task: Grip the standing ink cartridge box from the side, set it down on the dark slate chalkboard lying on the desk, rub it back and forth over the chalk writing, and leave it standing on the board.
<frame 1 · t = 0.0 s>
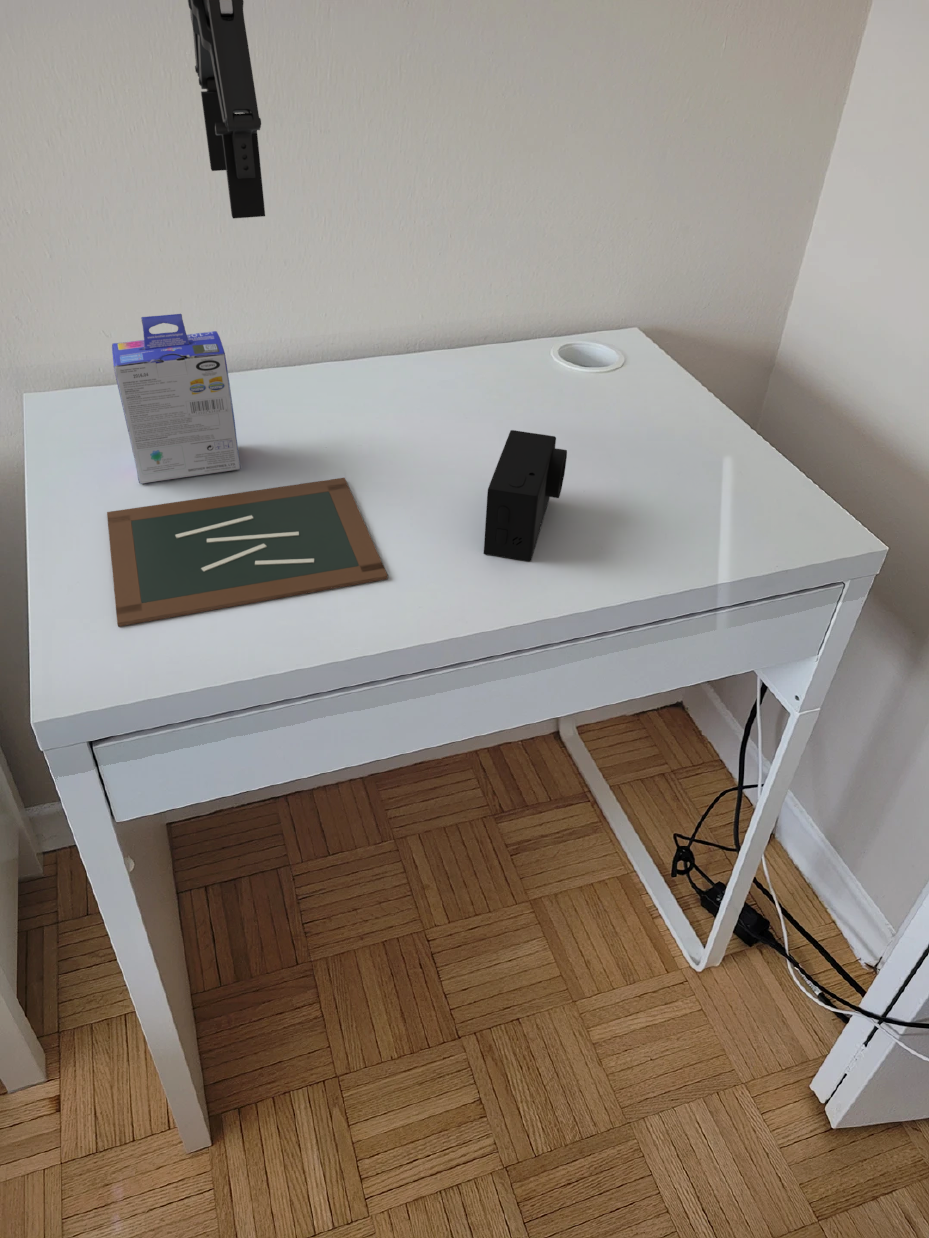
hand: (236, 191, 85), 23 cm above the table, tool pointing down, fingers open, 13 cm apart
digital camera: (523, 529, 87), on the table
chalkboard: (243, 546, 83), on the table
ink cartridge box: (189, 465, 93), on the table
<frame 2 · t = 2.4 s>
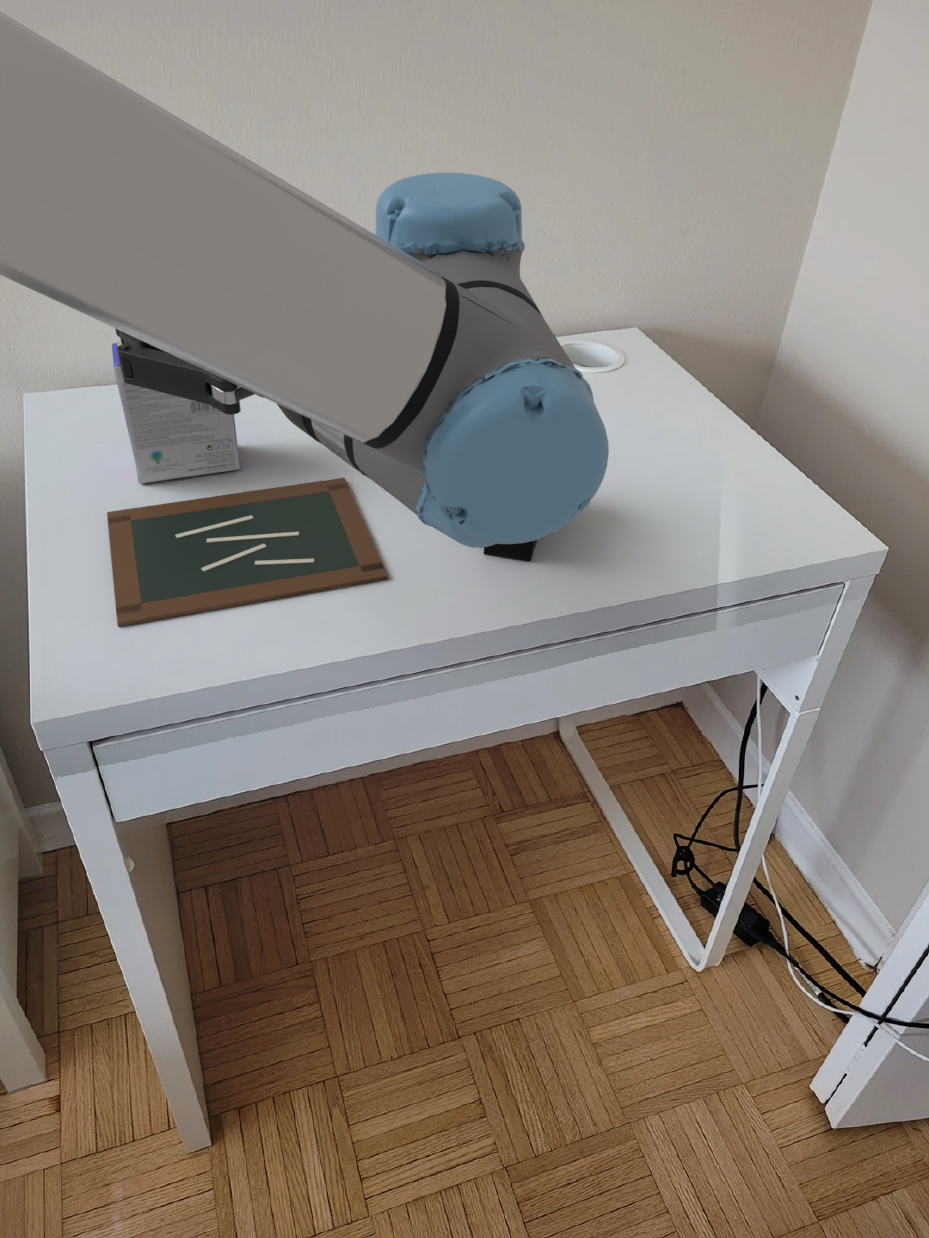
hand: (199, 295, 75), 20 cm above the table, tool horizontal, fingers open, 13 cm apart
nothing on the table moved.
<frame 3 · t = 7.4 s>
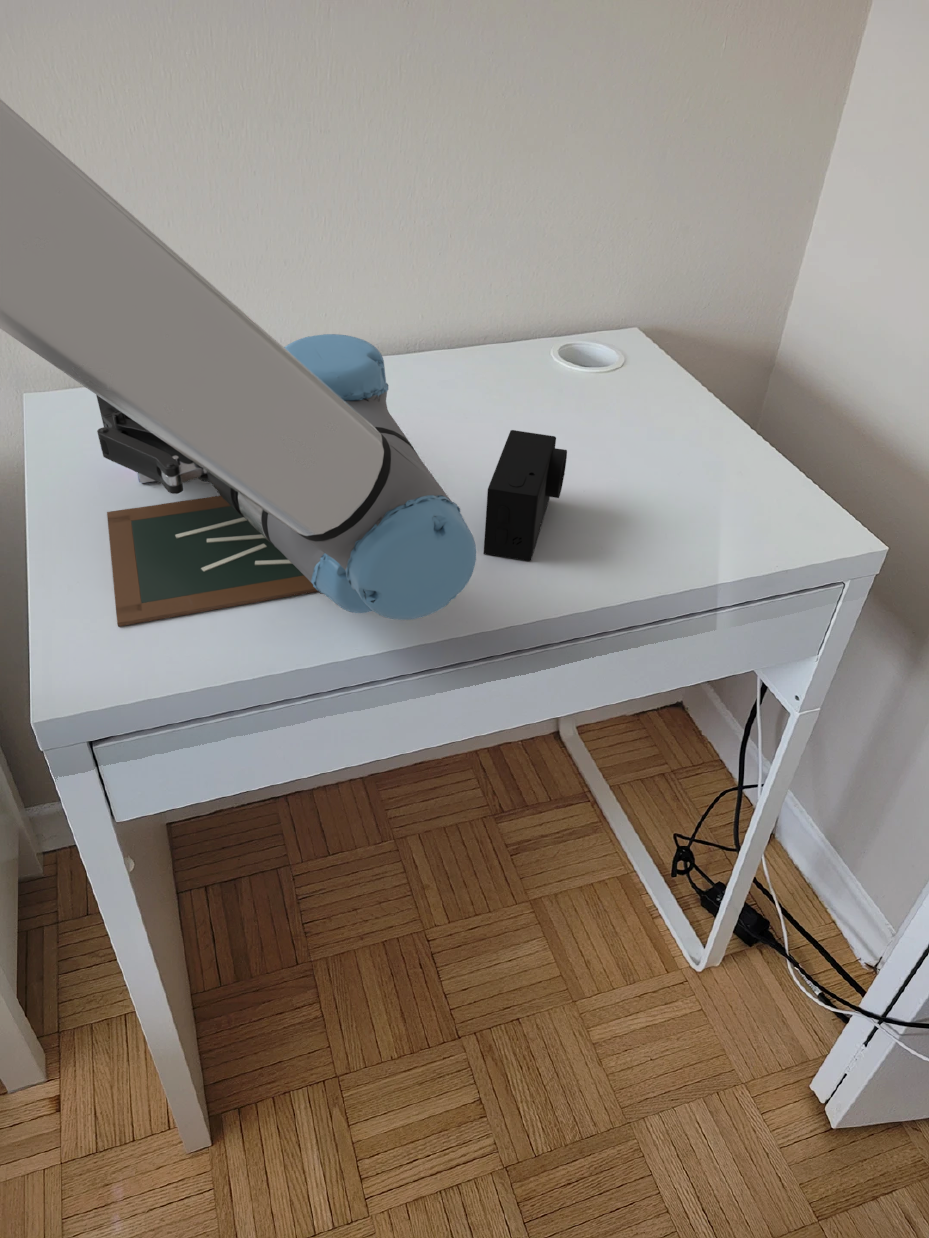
hand: (158, 382, 91), 7 cm above the table, tool horizontal, fingers closed on ink cartridge box, 11 cm apart
ink cartridge box: (189, 465, 94), on the table, touching gripper
everything else where it was.
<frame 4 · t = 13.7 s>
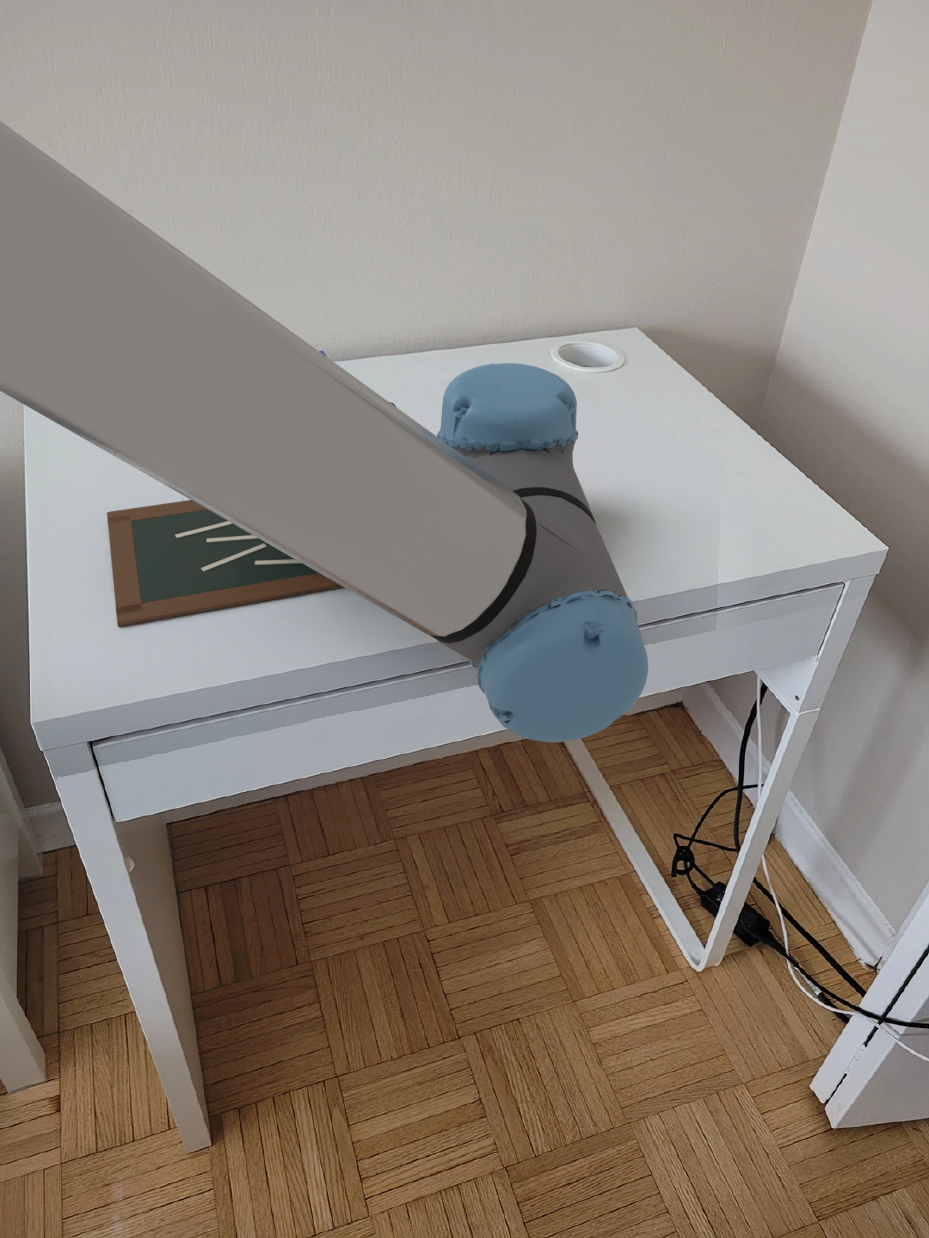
hand: (252, 409, 80), 11 cm above the table, tool horizontal, fingers closed on ink cartridge box, 11 cm apart
ink cartridge box: (285, 502, 82), point 4 cm above the table, touching gripper
everything else where it was.
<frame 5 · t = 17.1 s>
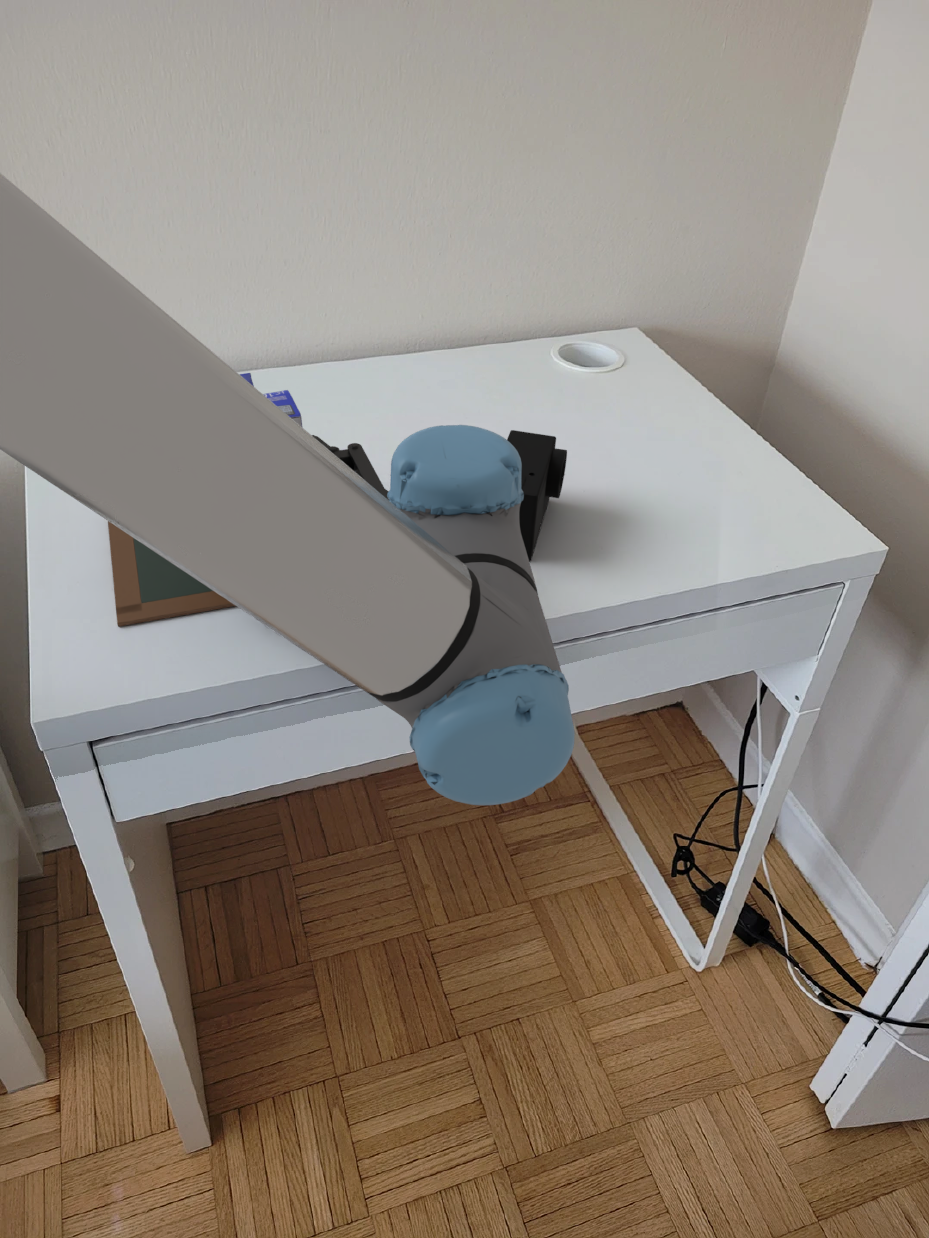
hand: (222, 449, 81), 8 cm above the table, tool horizontal, fingers closed on ink cartridge box, 11 cm apart
ink cartridge box: (257, 540, 83), point 1 cm above the table, touching gripper
everything else where it was.
when the fingers open (7 cm above the table, at t = 20.4 s): ink cartridge box stays where it is, resting on chalkboard.
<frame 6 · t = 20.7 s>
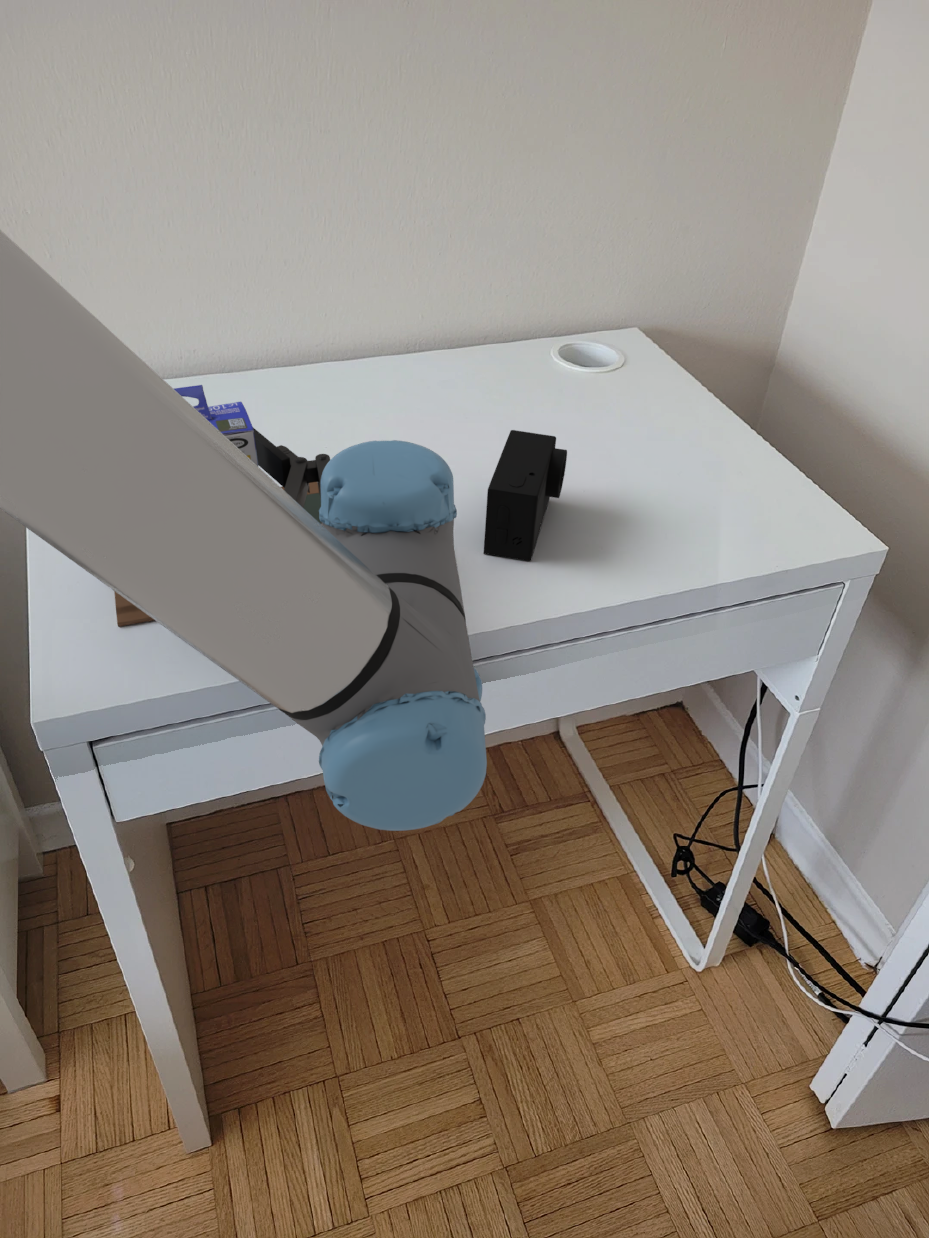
hand: (177, 463, 80), 7 cm above the table, tool horizontal, fingers open, 13 cm apart
ink cartridge box: (211, 551, 82), resting on chalkboard
everything else where it was.
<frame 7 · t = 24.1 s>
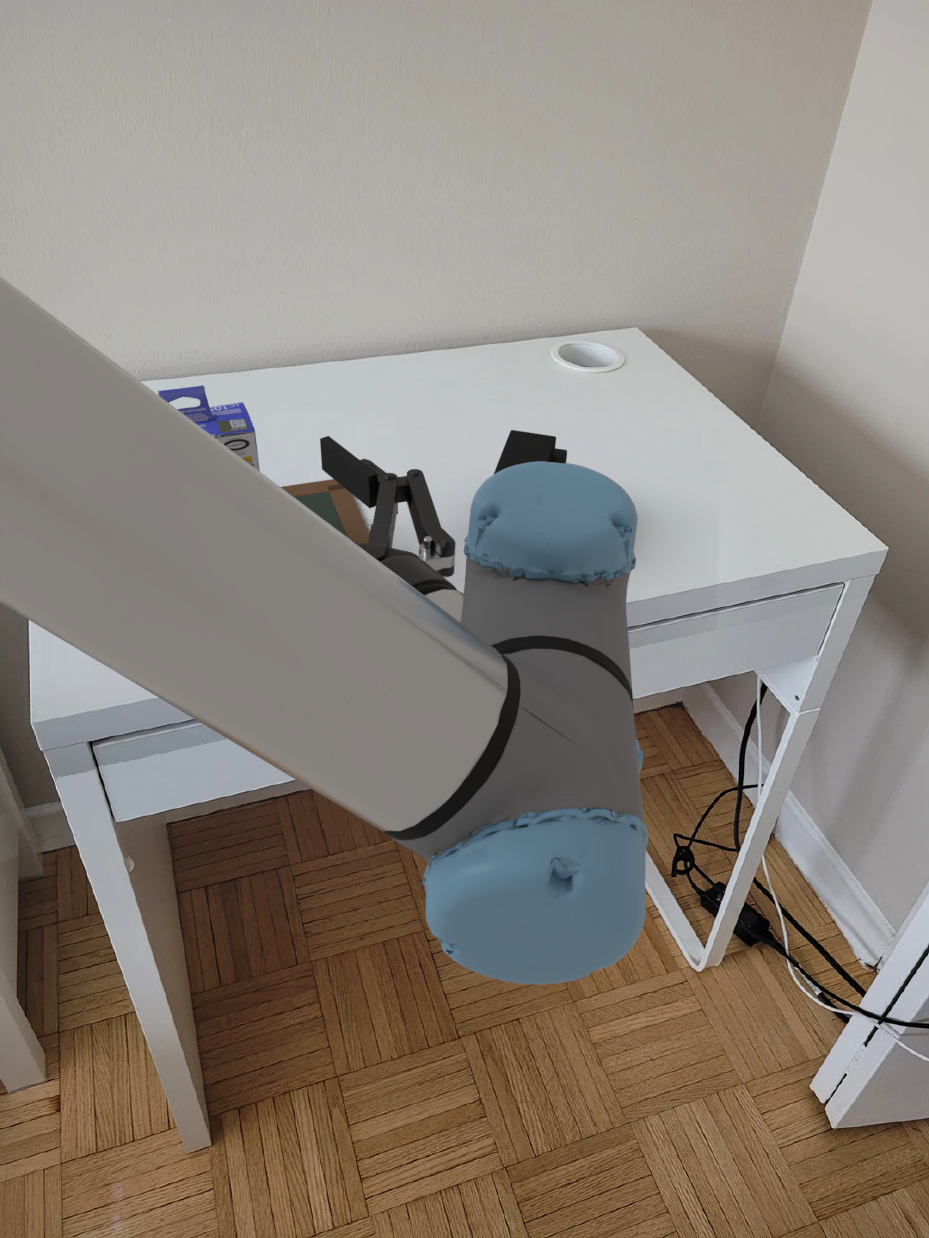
hand: (245, 480, 69), 12 cm above the table, tool horizontal, fingers open, 13 cm apart
nothing on the table moved.
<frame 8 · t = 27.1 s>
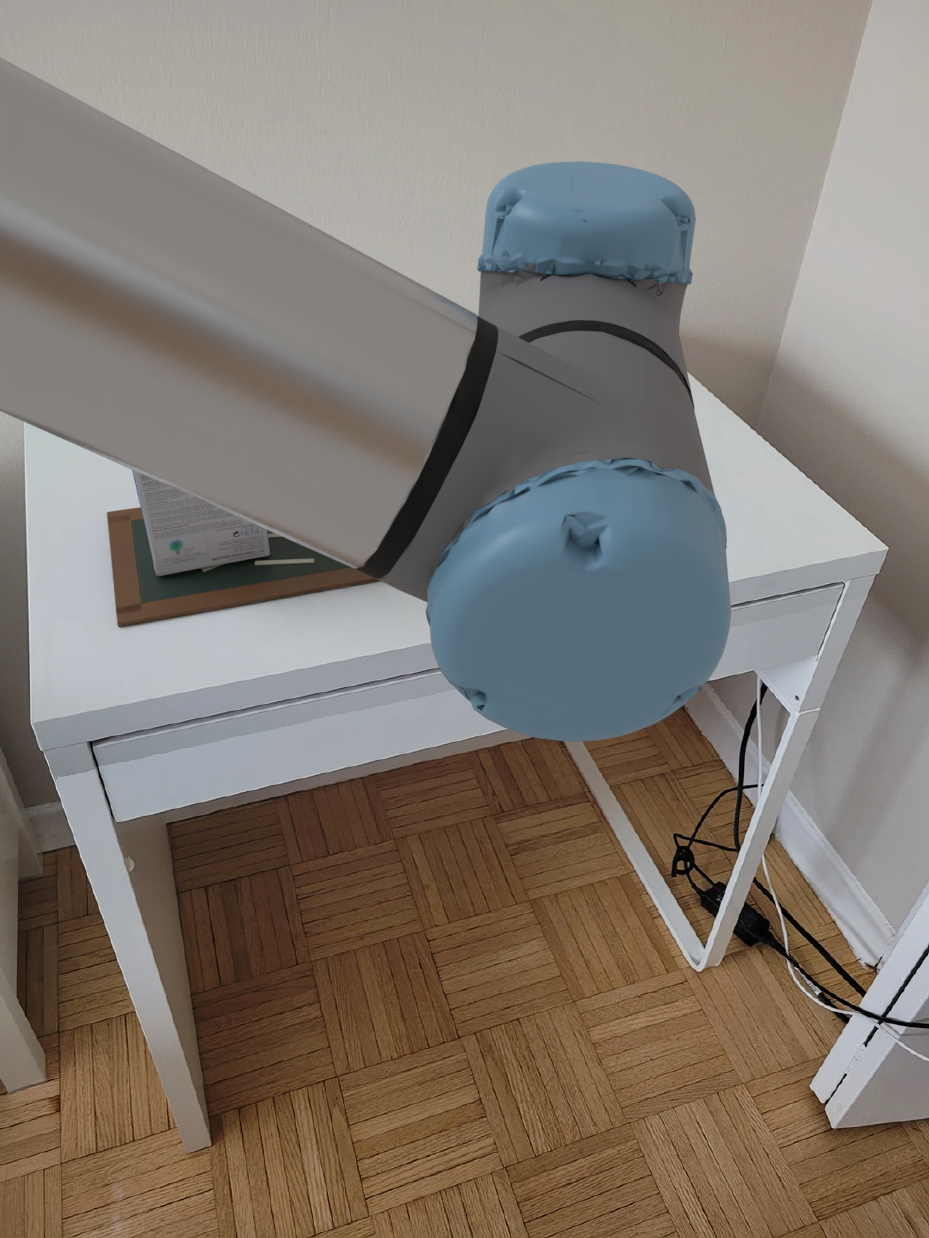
hand: (224, 312, 61), 25 cm above the table, tool horizontal, fingers open, 13 cm apart
nothing on the table moved.
at the end: ink cartridge box inside the target area on the chalkboard (0.4 cm from its centre), point 0.3 cm above the chalkboard's base; ink cartridge box tilted 0°; the gripper is holding nothing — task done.
